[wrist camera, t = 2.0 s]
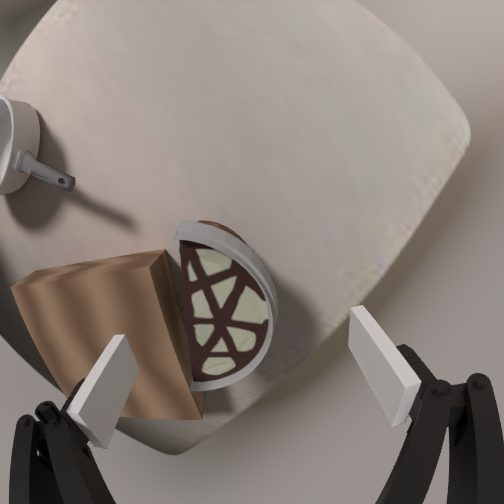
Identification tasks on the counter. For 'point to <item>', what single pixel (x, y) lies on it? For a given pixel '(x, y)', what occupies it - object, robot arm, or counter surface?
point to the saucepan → (23, 149)
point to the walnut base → (114, 328)
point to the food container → (224, 304)
